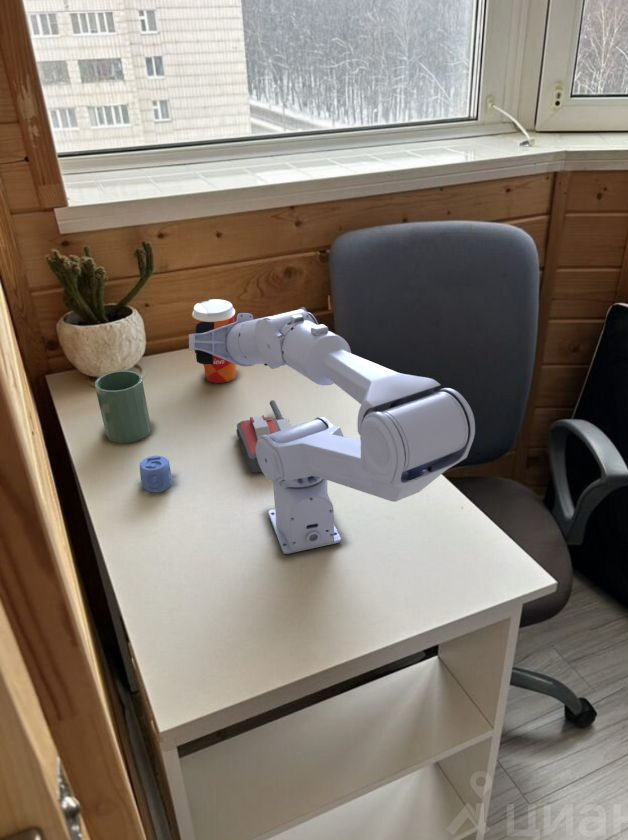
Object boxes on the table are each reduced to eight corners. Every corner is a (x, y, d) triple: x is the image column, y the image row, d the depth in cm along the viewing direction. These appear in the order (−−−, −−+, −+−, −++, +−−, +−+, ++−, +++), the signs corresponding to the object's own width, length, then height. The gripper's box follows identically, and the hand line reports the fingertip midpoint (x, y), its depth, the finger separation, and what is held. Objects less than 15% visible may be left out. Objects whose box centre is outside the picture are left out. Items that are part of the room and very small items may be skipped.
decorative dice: (171, 475, 110) (167, 453, 108) (171, 491, 107) (167, 468, 104) (144, 478, 109) (140, 456, 107) (143, 494, 106) (139, 472, 104)
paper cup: (192, 375, 137) (182, 305, 129) (226, 363, 142) (219, 294, 134) (215, 390, 132) (206, 318, 125) (250, 377, 137) (243, 306, 129)
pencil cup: (153, 438, 119) (143, 387, 113) (107, 446, 117) (95, 394, 111) (149, 417, 124) (139, 367, 119) (105, 424, 122) (93, 374, 117)
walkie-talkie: (307, 468, 112) (278, 407, 127) (306, 444, 109) (276, 385, 125) (251, 479, 109) (228, 415, 125) (249, 454, 107) (226, 392, 122)
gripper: (309, 313, 96) (268, 321, 108) (203, 306, 89) (172, 315, 101) (309, 366, 97) (269, 368, 109) (204, 364, 90) (173, 366, 101)
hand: (222, 346), depth 105 cm, fingers open, 7 cm apart
